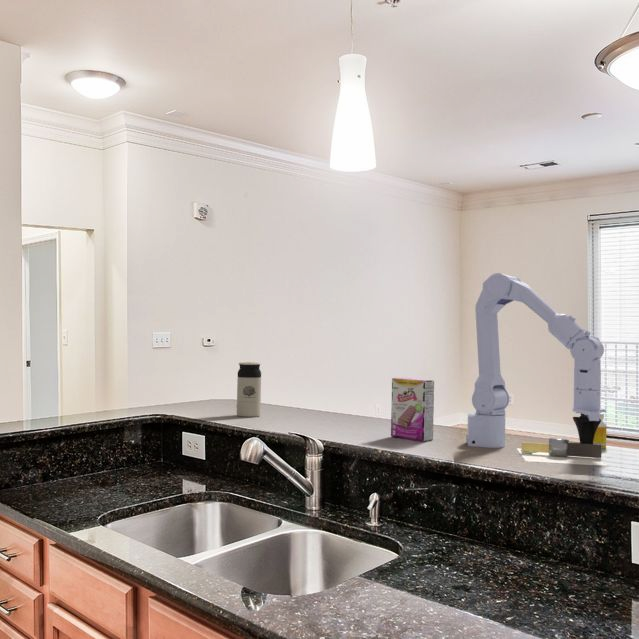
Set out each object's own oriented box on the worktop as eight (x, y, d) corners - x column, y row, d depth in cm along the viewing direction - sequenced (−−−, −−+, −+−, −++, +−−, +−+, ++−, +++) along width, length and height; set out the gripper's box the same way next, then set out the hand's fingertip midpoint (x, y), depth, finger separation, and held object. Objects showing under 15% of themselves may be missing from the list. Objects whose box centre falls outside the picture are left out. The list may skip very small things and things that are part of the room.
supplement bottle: (579, 450, 163) (579, 412, 164) (589, 448, 167) (590, 411, 167) (599, 453, 159) (600, 414, 159) (610, 451, 163) (610, 413, 163)
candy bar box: (389, 437, 179) (390, 377, 179) (400, 435, 183) (401, 377, 183) (423, 442, 171) (424, 380, 172) (434, 440, 175) (435, 379, 175)
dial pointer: (521, 453, 150) (521, 437, 150) (521, 450, 154) (521, 435, 154) (601, 459, 144) (602, 443, 144) (599, 456, 149) (600, 440, 149)
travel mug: (240, 414, 223) (241, 362, 223) (262, 414, 222) (263, 362, 222) (233, 416, 215) (235, 362, 216) (257, 417, 214) (258, 363, 214)
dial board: (525, 465, 142) (525, 459, 142) (516, 452, 159) (516, 447, 159) (607, 470, 139) (607, 464, 139) (589, 456, 156) (589, 450, 156)
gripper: (614, 392, 141) (613, 455, 141) (597, 387, 155) (596, 443, 155) (580, 391, 142) (579, 453, 142) (566, 386, 156) (566, 442, 156)
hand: (586, 448), depth 148 cm, fingers closed, pressing on dial pointer
